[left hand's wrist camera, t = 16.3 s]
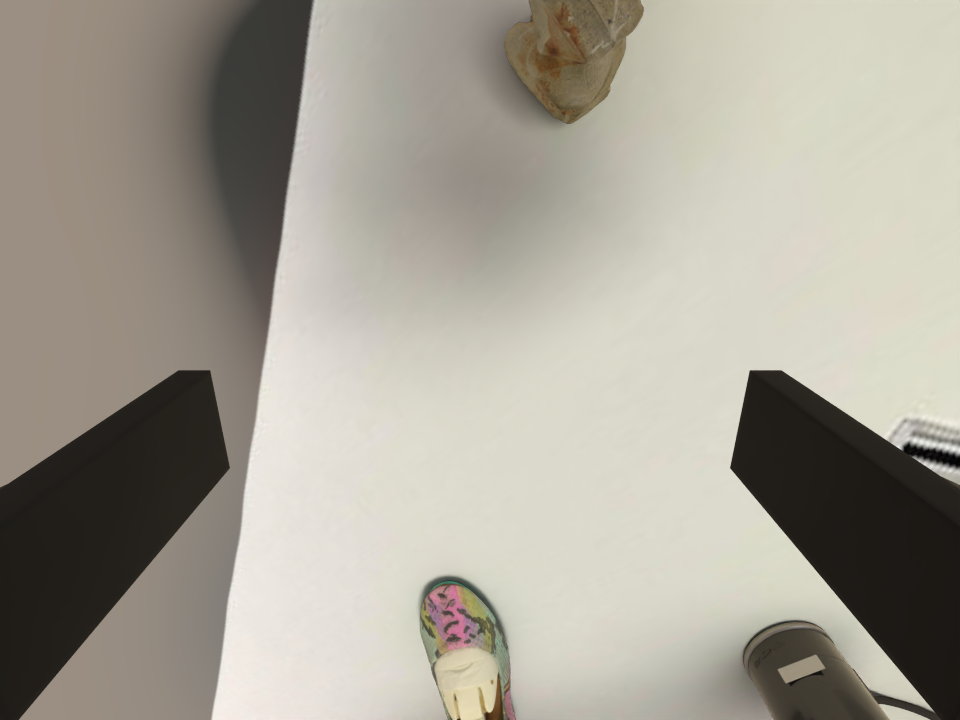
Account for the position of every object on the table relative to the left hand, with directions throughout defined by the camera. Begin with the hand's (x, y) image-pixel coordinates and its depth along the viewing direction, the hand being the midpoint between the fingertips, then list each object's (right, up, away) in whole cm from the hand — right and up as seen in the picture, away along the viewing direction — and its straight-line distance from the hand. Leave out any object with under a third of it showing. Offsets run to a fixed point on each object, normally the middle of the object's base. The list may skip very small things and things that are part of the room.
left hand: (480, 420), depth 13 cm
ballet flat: (-1, -32, +43) cm, 54 cm away
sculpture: (+5, +22, +23) cm, 32 cm away
